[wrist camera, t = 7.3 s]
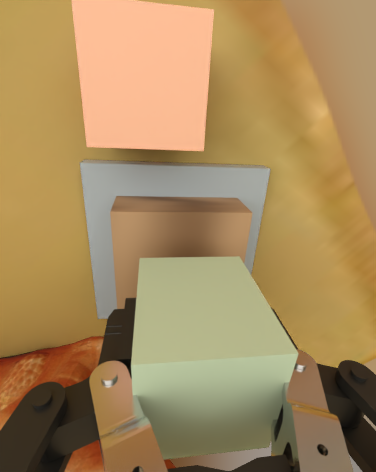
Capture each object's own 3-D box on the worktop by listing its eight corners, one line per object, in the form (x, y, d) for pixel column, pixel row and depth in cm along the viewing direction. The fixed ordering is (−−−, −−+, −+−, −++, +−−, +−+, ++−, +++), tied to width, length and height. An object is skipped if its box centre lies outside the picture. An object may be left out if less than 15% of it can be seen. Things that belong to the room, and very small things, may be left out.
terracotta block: (107, 135, 16) (86, 146, 11) (100, 37, 14) (70, -7, 9) (186, 139, 17) (203, 151, 12) (190, 46, 15) (213, 9, 10)
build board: (100, 308, 22) (97, 318, 21) (84, 159, 17) (79, 162, 16) (240, 302, 24) (244, 311, 22) (263, 165, 18) (270, 168, 17)
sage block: (139, 257, 13) (130, 365, 7) (239, 256, 13) (298, 353, 8) (141, 335, 15) (136, 462, 9) (228, 330, 16) (268, 447, 10)
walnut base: (122, 297, 20) (118, 325, 18) (116, 195, 17) (110, 211, 14) (224, 293, 21) (235, 319, 19) (237, 197, 18) (252, 212, 15)
